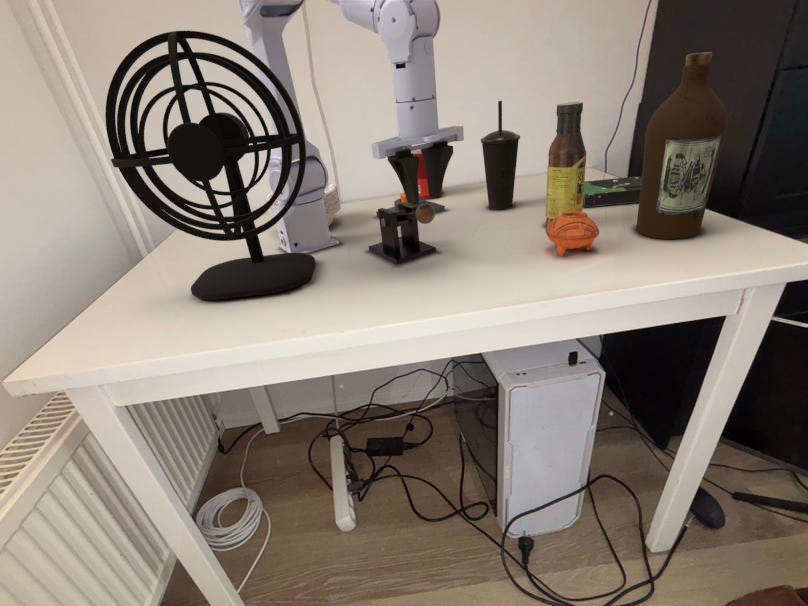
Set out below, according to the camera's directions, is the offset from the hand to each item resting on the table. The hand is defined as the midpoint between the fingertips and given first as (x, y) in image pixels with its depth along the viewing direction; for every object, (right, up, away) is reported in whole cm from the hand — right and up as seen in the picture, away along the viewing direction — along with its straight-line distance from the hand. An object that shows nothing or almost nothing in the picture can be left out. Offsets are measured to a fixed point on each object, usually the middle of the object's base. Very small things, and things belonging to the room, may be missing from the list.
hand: (424, 200), depth 74 cm
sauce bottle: (+26, 0, +15) cm, 30 cm away
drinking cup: (+18, +8, +29) cm, 35 cm away
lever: (-2, -2, +5) cm, 6 cm away
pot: (+24, -7, +4) cm, 25 cm away
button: (-2, +10, +30) cm, 32 cm away
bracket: (-3, -5, +12) cm, 14 cm away
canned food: (+3, +15, +44) cm, 46 cm away
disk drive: (+40, +9, +25) cm, 48 cm away
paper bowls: (-23, +4, +32) cm, 40 cm away
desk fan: (-28, -12, +8) cm, 31 cm away
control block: (-1, +7, +32) cm, 33 cm away
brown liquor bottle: (+41, -3, +7) cm, 41 cm away
